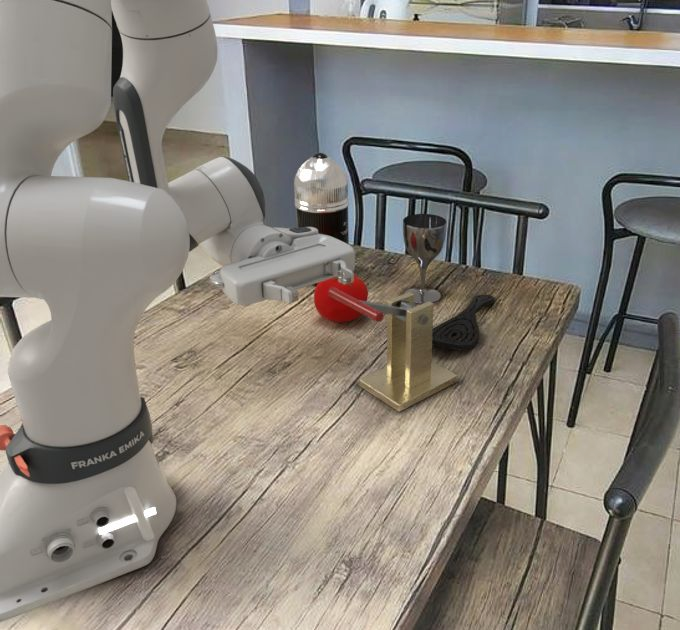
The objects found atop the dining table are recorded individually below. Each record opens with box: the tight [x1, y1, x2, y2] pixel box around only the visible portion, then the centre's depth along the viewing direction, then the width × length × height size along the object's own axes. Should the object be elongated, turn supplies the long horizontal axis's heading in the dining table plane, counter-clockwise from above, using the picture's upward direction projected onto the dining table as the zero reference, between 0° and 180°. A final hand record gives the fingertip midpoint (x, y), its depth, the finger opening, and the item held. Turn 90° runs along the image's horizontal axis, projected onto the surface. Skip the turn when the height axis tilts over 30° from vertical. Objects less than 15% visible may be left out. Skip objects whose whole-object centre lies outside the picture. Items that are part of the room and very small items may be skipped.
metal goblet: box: [402, 213, 447, 305], centre depth 127 cm, size 8×8×15 cm
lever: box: [328, 287, 418, 323], centre depth 93 cm, size 13×10×2 cm
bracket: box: [358, 292, 459, 413], centre depth 100 cm, size 12×9×14 cm
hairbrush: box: [432, 294, 495, 351], centre depth 119 cm, size 8×4×25 cm
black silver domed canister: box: [293, 152, 350, 285], centre depth 131 cm, size 10×10×25 cm
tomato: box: [313, 272, 369, 323], centre depth 120 cm, size 9×10×8 cm
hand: (322, 287), depth 93 cm, fingers open, 8 cm apart
